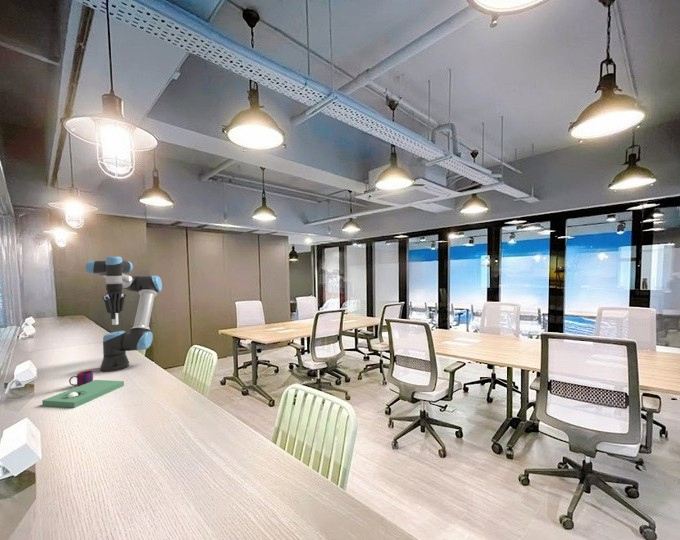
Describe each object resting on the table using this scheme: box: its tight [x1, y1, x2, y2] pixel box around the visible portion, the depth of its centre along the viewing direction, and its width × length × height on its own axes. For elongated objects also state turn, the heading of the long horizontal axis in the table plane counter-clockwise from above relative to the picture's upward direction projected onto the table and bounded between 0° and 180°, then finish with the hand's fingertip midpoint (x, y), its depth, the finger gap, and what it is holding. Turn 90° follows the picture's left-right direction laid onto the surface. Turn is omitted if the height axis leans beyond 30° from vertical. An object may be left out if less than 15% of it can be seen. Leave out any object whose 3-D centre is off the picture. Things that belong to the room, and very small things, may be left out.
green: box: [41, 379, 125, 409], centre depth 151 cm, size 26×18×2 cm
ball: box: [68, 392, 78, 398], centre depth 145 cm, size 4×4×4 cm
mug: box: [68, 370, 94, 387], centre depth 164 cm, size 7×10×7 cm
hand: (115, 324), depth 170 cm, fingers closed
